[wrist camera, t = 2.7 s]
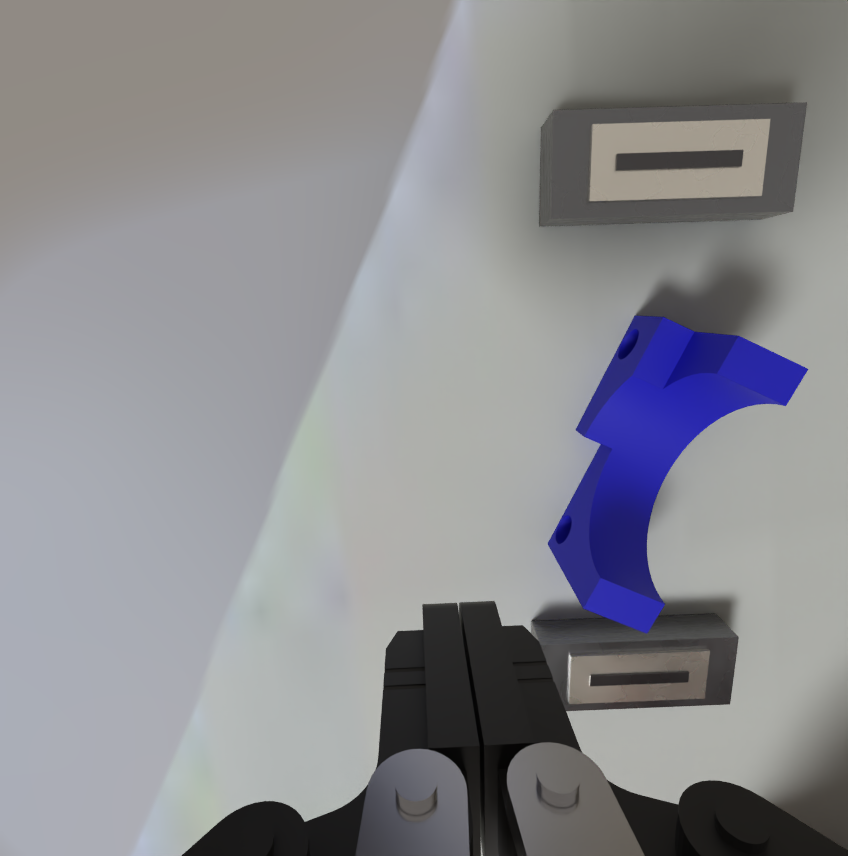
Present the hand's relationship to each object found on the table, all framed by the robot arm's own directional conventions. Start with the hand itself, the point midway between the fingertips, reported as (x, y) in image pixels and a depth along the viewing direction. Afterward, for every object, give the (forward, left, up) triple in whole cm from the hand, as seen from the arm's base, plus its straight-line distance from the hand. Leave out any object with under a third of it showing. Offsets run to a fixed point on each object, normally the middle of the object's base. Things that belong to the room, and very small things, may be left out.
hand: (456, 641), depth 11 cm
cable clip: (-9, 0, -15) cm, 18 cm away
